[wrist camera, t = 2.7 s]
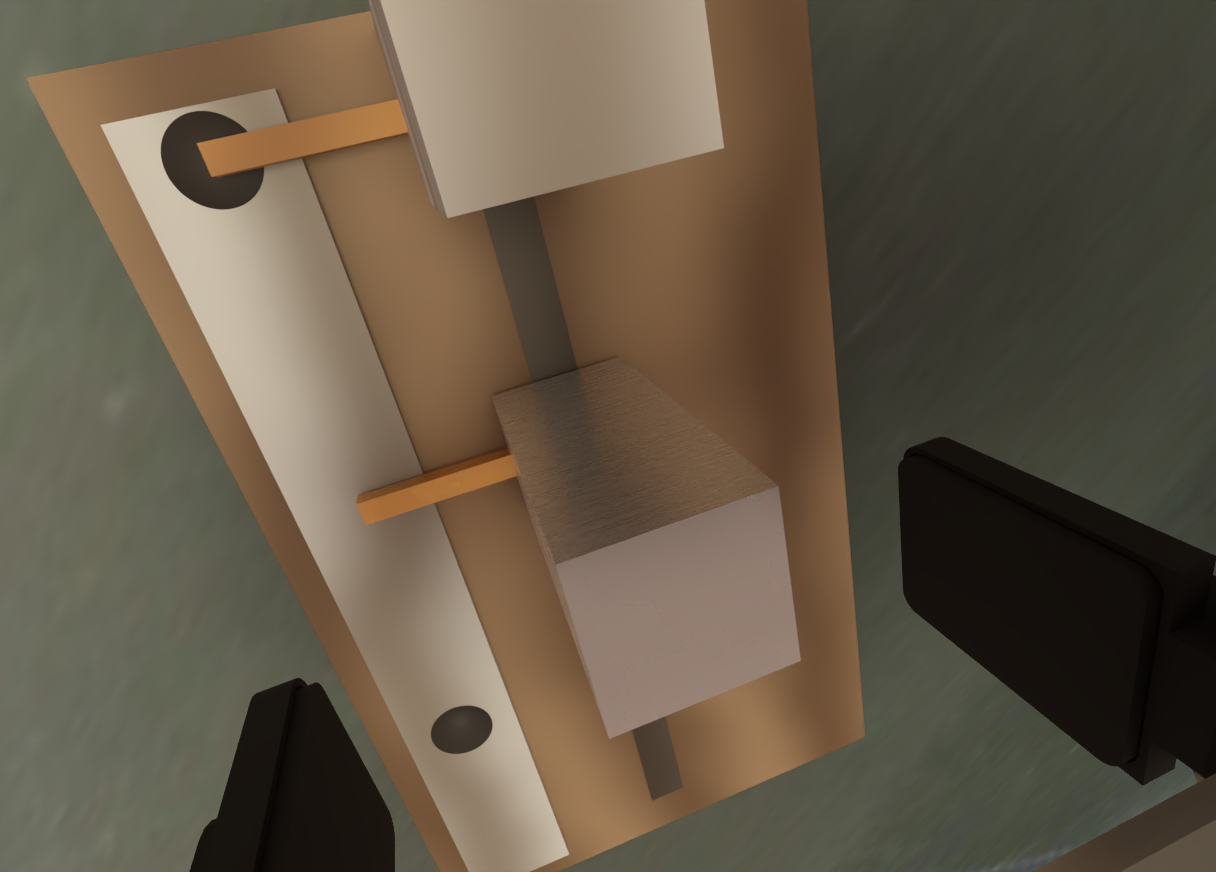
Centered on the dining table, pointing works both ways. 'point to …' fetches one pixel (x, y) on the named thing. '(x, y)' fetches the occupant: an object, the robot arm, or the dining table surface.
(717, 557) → the sliding block with pointer
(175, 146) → the rule board
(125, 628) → the dining table surface
